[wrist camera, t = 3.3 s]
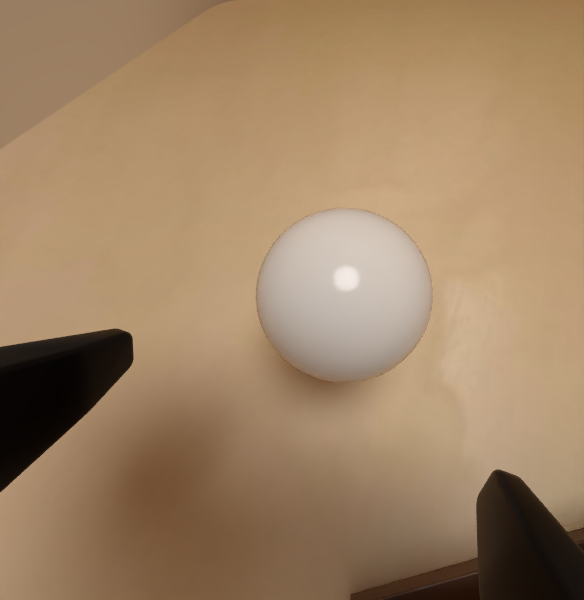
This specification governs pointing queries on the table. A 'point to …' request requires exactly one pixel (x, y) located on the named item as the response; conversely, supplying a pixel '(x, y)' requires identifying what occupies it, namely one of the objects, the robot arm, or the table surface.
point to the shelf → (440, 583)
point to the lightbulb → (344, 295)
